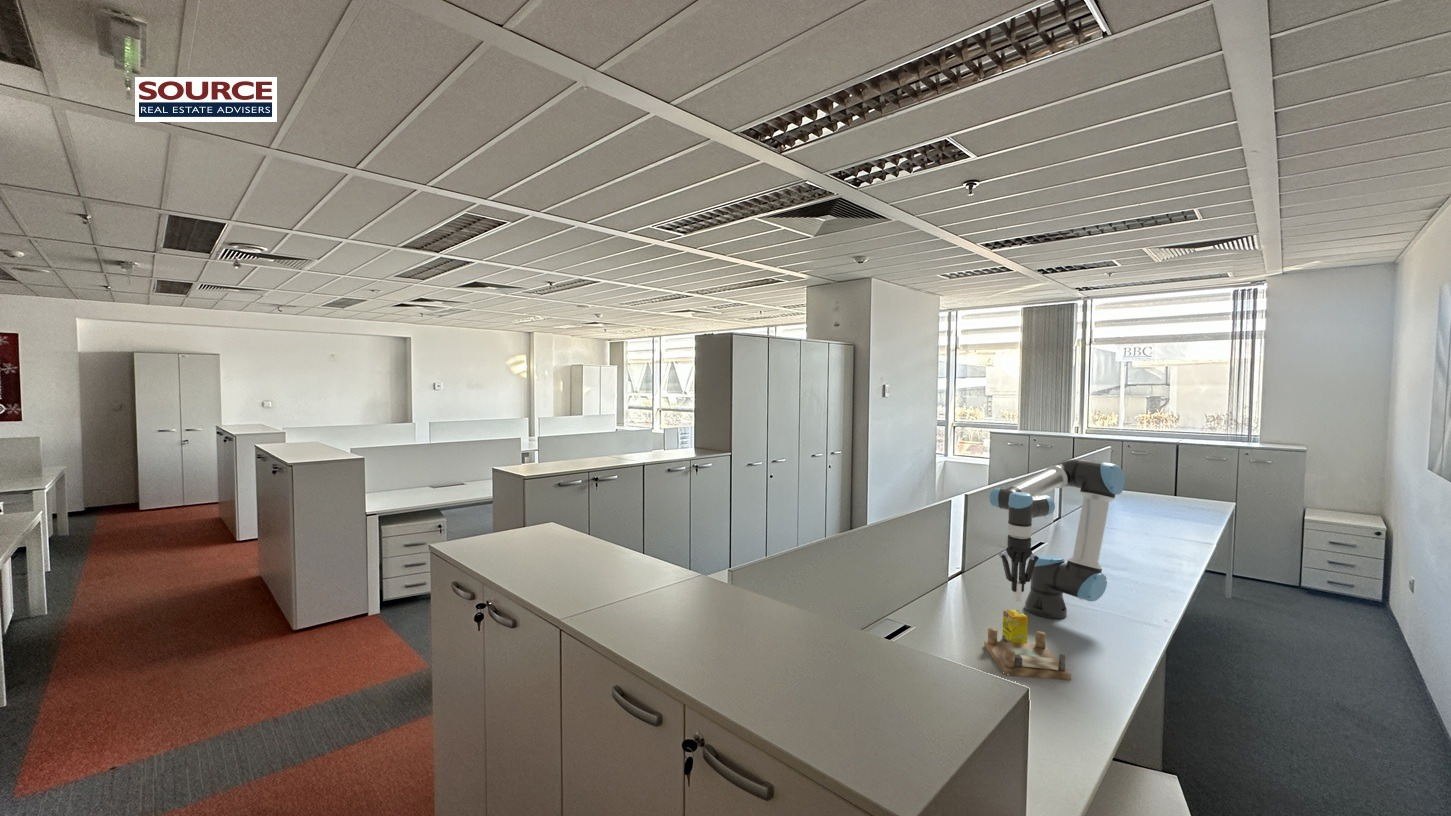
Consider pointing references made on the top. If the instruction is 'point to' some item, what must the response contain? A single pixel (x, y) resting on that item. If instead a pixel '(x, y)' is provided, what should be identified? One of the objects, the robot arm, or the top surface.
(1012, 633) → the supplement box
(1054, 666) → the stool leg
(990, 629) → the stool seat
